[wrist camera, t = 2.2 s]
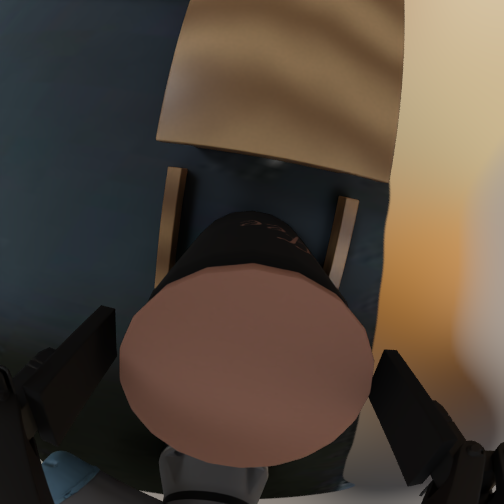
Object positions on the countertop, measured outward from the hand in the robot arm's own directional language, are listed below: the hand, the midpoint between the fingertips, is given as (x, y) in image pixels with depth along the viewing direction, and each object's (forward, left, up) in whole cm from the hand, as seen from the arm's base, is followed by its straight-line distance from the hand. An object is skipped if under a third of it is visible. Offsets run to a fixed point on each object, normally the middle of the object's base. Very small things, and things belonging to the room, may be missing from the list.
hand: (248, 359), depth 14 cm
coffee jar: (0, 0, -16) cm, 16 cm away
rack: (+9, 0, -16) cm, 18 cm away
